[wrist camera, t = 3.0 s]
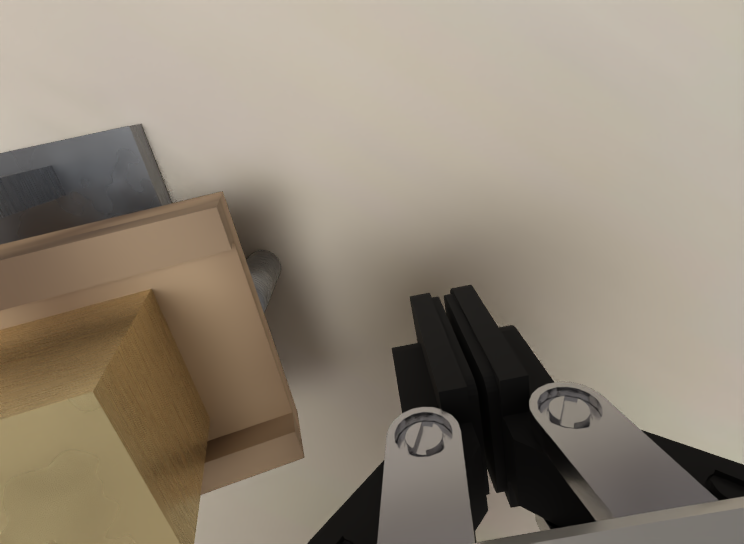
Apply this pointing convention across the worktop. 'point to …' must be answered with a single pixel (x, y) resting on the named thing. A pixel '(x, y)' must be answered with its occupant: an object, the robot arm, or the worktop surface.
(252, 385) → the board
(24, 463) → the block
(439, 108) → the worktop surface
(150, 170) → the pivot stand
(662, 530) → the robot arm
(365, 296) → the worktop surface
